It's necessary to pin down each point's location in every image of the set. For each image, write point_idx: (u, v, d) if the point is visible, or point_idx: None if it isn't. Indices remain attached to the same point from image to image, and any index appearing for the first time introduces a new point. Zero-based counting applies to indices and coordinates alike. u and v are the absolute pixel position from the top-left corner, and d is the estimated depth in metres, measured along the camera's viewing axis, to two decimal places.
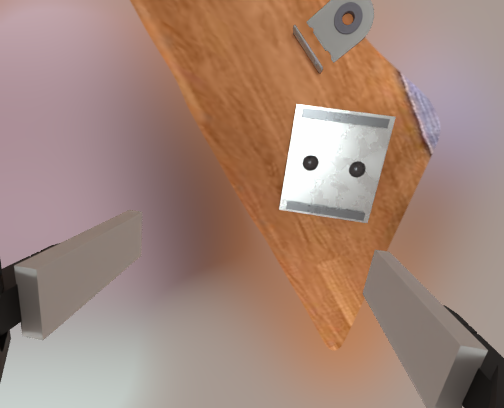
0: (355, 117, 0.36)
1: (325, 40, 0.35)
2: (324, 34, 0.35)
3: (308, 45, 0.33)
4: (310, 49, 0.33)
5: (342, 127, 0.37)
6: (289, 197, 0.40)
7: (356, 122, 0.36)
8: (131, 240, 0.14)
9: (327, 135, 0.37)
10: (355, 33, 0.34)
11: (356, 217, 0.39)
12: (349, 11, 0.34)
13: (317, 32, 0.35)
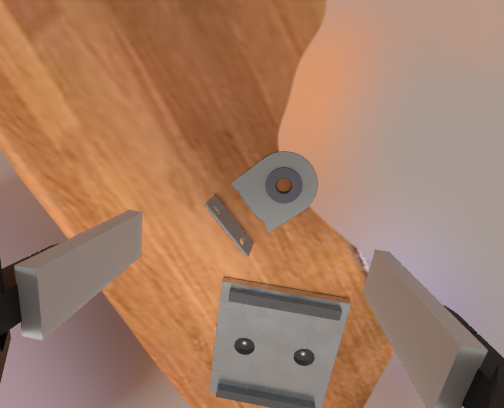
0: (297, 306, 0.27)
1: (256, 206, 0.26)
2: (254, 199, 0.26)
3: (226, 229, 0.24)
4: (229, 234, 0.24)
5: (282, 311, 0.28)
6: (221, 380, 0.32)
7: (298, 312, 0.27)
8: (131, 240, 0.14)
9: (264, 318, 0.29)
10: (295, 202, 0.25)
11: None
12: (284, 177, 0.25)
13: (244, 197, 0.26)
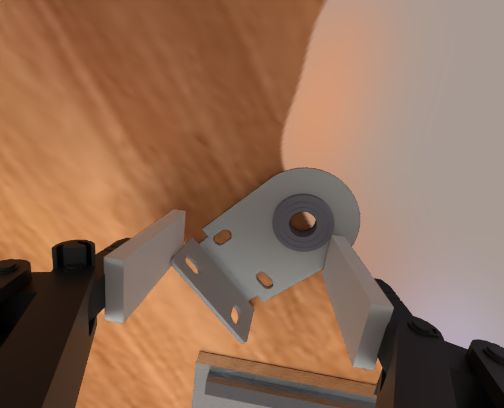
0: (311, 406, 0.17)
1: (258, 255, 0.16)
2: (255, 244, 0.16)
3: (208, 301, 0.14)
4: (213, 309, 0.14)
5: None
6: None
7: None
8: (178, 237, 0.15)
9: None
10: (321, 248, 0.16)
11: None
12: (304, 210, 0.15)
13: (239, 239, 0.16)
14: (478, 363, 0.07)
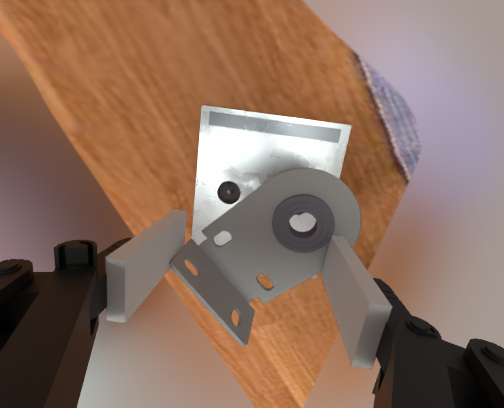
0: (288, 126, 0.23)
1: (258, 256, 0.16)
2: (255, 246, 0.16)
3: (208, 304, 0.14)
4: (213, 311, 0.14)
5: (272, 140, 0.24)
6: None
7: (290, 134, 0.23)
8: (178, 237, 0.15)
9: (250, 153, 0.25)
10: (322, 249, 0.15)
11: None
12: (304, 211, 0.15)
13: (238, 241, 0.16)
14: (475, 362, 0.07)
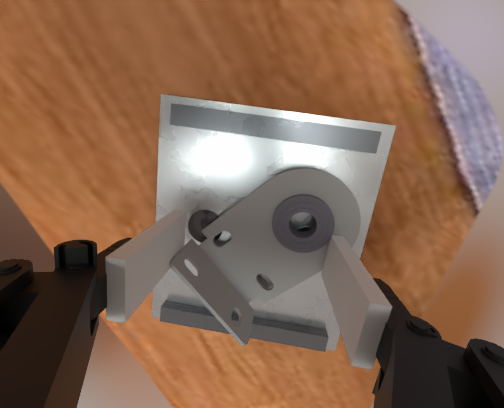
0: (296, 127, 0.14)
1: (258, 256, 0.16)
2: (255, 245, 0.16)
3: (208, 303, 0.14)
4: (213, 311, 0.14)
5: (270, 149, 0.16)
6: (169, 295, 0.19)
7: (299, 139, 0.15)
8: (178, 237, 0.15)
9: (237, 168, 0.16)
10: (322, 249, 0.15)
11: (309, 344, 0.18)
12: (304, 211, 0.15)
13: (238, 241, 0.16)
14: (476, 362, 0.07)
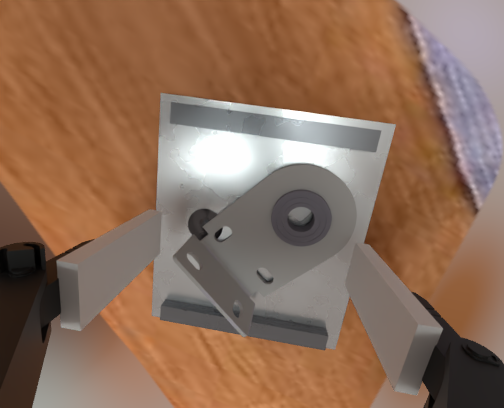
0: (296, 125, 0.14)
1: (258, 250, 0.17)
2: (254, 240, 0.17)
3: (210, 296, 0.15)
4: (215, 303, 0.15)
5: (270, 148, 0.16)
6: (169, 294, 0.19)
7: (299, 138, 0.15)
8: (152, 238, 0.14)
9: (237, 167, 0.16)
10: (320, 243, 0.16)
11: (309, 343, 0.18)
12: (302, 205, 0.15)
13: (239, 236, 0.17)
14: None
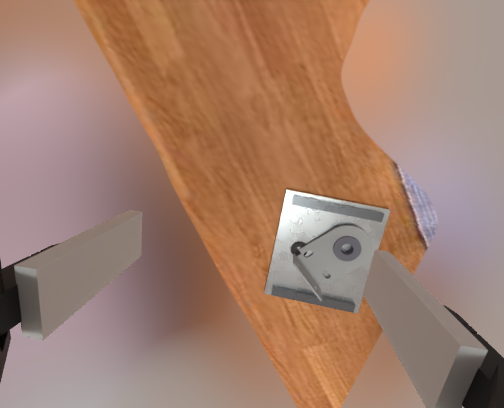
0: (348, 209, 0.33)
1: (324, 262, 0.36)
2: (323, 257, 0.35)
3: (308, 281, 0.33)
4: (309, 285, 0.33)
5: (334, 216, 0.35)
6: (275, 282, 0.37)
7: (349, 214, 0.34)
8: (131, 240, 0.14)
9: (318, 223, 0.35)
10: (354, 260, 0.35)
11: (346, 308, 0.37)
12: (348, 243, 0.34)
13: (316, 255, 0.36)
14: None
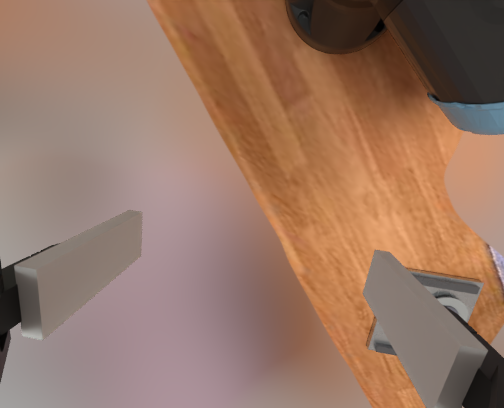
0: (448, 284, 0.40)
1: None
2: None
3: None
4: None
5: (433, 288, 0.41)
6: (378, 340, 0.44)
7: (448, 288, 0.40)
8: (131, 240, 0.14)
9: None
10: None
11: None
12: None
13: None
14: None
